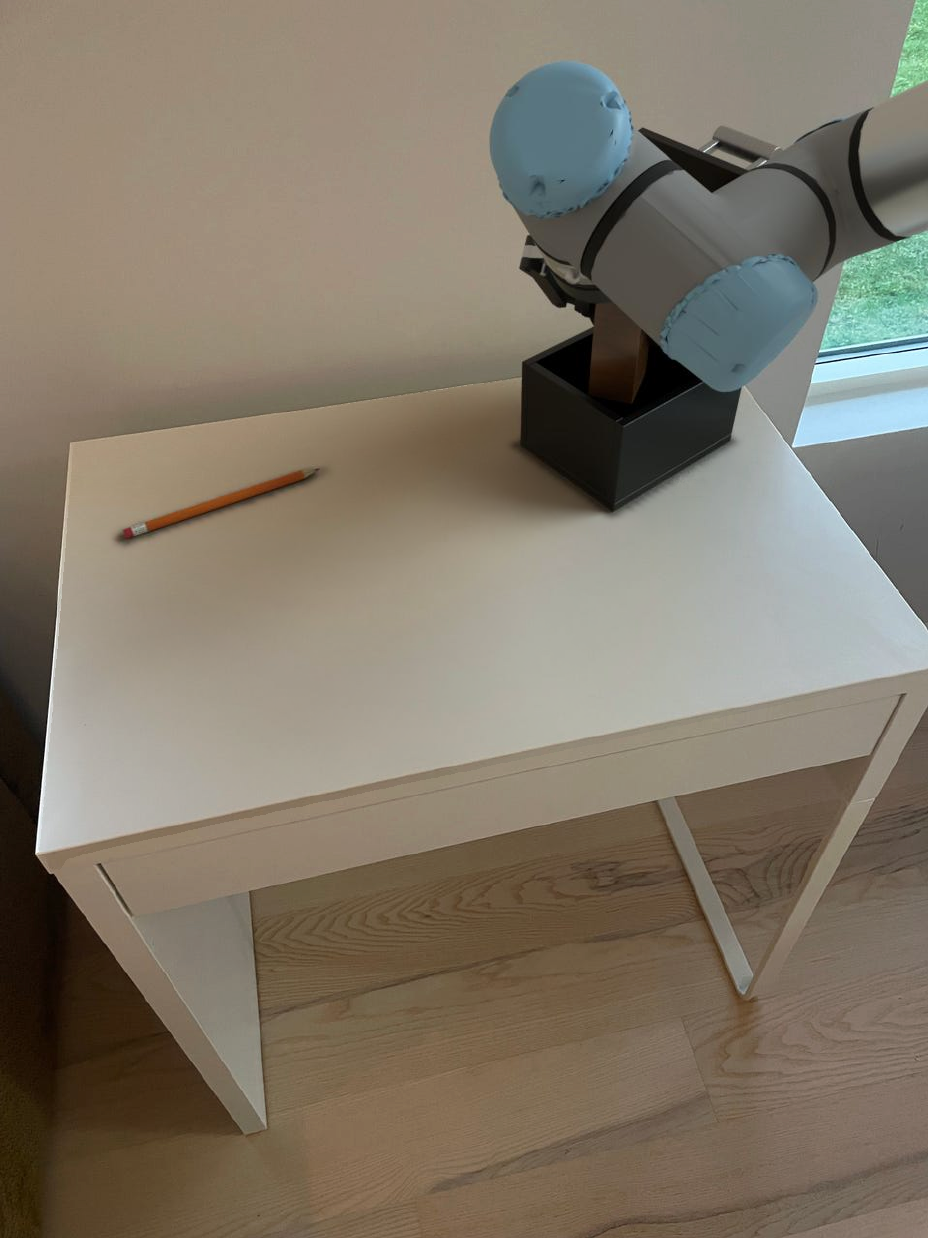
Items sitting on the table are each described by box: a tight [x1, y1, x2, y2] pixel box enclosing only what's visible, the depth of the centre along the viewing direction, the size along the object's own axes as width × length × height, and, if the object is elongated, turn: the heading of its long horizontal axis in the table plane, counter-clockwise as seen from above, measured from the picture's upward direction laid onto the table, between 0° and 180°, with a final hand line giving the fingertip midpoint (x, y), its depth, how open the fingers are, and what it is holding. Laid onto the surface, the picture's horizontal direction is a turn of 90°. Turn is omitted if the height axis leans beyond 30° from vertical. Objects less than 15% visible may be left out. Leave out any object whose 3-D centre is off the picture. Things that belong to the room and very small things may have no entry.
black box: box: [519, 325, 743, 513], centre depth 90 cm, size 16×13×9 cm
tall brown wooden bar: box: [588, 301, 649, 404], centre depth 83 cm, size 4×5×11 cm
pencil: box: [122, 468, 321, 539], centre depth 89 cm, size 1×19×1 cm, turn 117°
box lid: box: [637, 124, 784, 193], centre depth 84 cm, size 17×13×7 cm
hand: (631, 326), depth 87 cm, fingers closed on tall brown wooden bar, 4 cm apart
